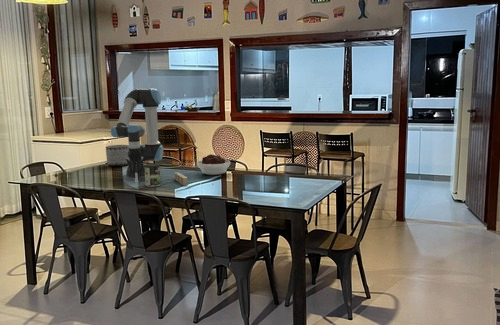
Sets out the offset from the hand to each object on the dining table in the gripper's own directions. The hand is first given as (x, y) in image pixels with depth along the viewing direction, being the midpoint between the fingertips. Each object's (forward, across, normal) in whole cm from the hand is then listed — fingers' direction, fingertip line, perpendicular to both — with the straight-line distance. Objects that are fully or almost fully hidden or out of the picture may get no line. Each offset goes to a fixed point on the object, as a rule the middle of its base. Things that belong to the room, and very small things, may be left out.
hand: (136, 182), depth 325 cm
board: (+3, +31, 0) cm, 31 cm away
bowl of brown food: (+3, +62, +17) cm, 64 cm away
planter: (+3, +4, +93) cm, 93 cm away
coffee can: (+3, +11, 0) cm, 11 cm away
